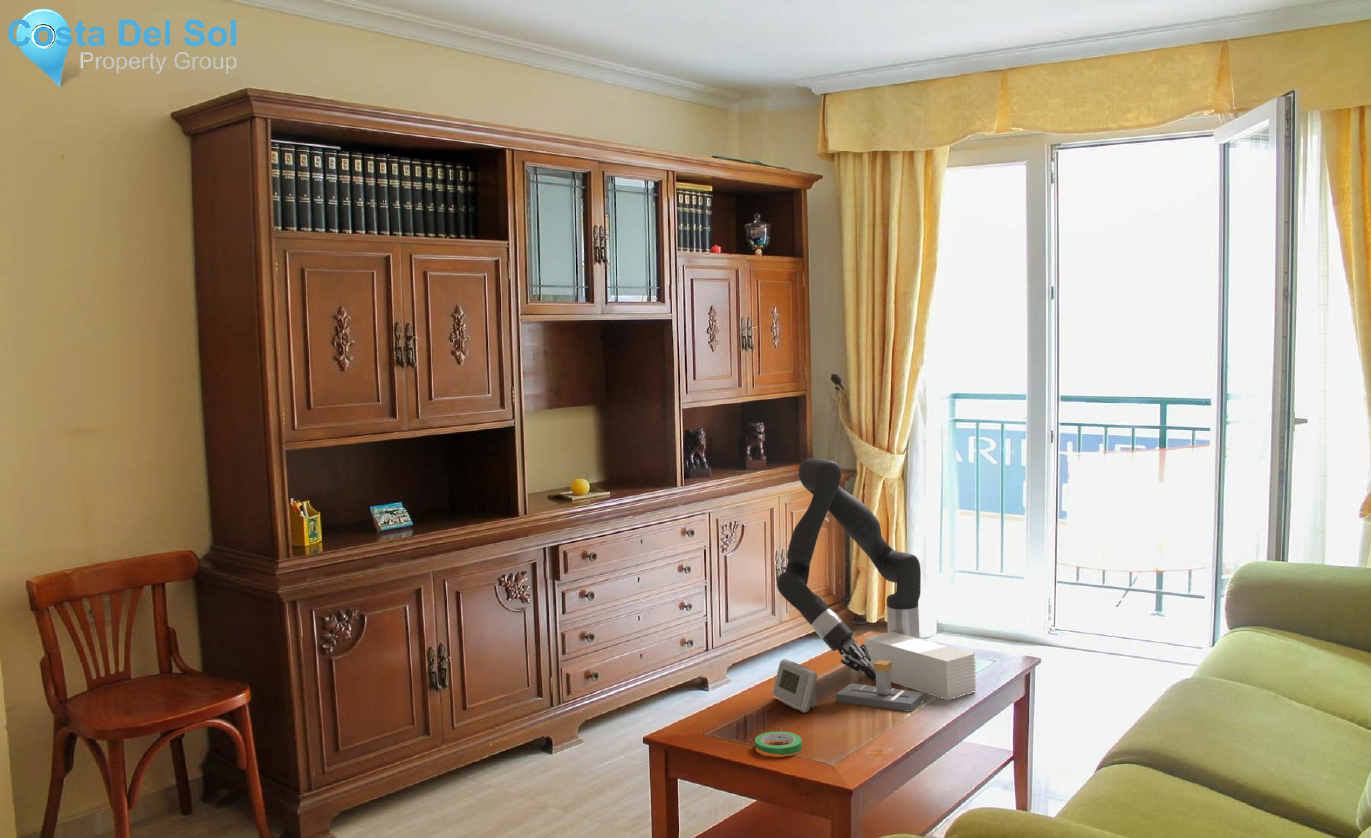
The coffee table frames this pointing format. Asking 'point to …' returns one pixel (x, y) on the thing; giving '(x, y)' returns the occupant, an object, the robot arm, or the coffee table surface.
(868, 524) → the robot arm
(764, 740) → the tape roll
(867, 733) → the coffee table surface
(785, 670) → the digital clock
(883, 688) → the fader
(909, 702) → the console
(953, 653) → the stack of papers
